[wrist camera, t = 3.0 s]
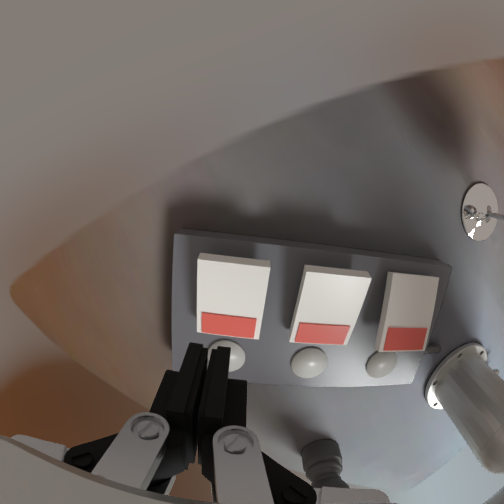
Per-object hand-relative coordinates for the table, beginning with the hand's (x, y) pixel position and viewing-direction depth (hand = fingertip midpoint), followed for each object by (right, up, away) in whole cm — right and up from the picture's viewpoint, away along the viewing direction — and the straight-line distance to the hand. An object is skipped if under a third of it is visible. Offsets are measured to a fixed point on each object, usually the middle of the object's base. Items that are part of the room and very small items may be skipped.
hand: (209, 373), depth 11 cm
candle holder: (+13, -27, +27) cm, 40 cm away
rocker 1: (0, +1, +15) cm, 15 cm away
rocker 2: (+9, 0, +15) cm, 18 cm away
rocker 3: (+18, -1, +15) cm, 23 cm away
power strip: (+11, -2, +21) cm, 23 cm away
